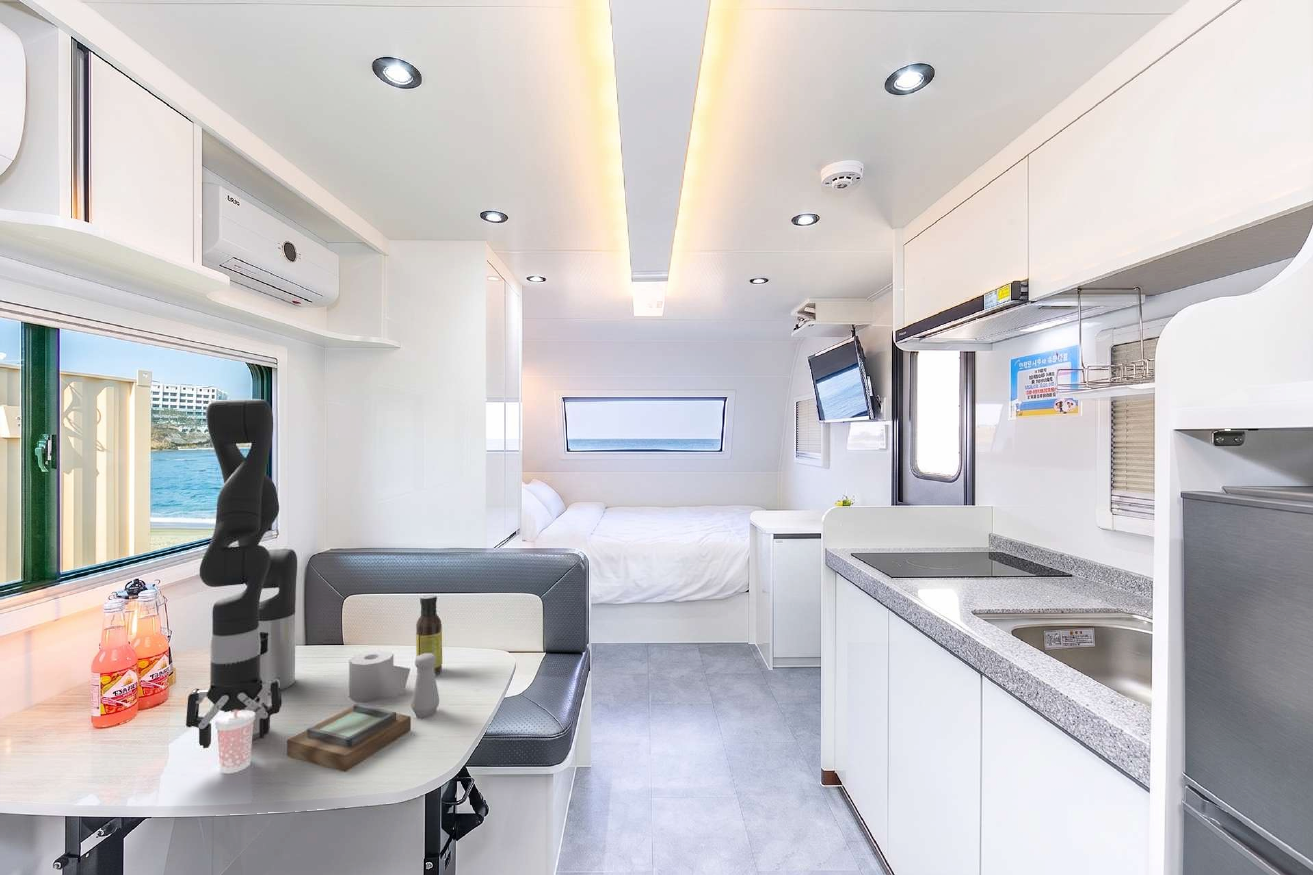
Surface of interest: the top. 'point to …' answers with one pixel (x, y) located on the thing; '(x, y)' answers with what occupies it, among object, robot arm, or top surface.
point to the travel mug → (264, 678)
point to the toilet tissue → (375, 676)
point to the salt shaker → (425, 687)
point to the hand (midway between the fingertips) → (235, 741)
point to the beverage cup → (235, 740)
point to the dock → (349, 737)
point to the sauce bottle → (429, 631)
